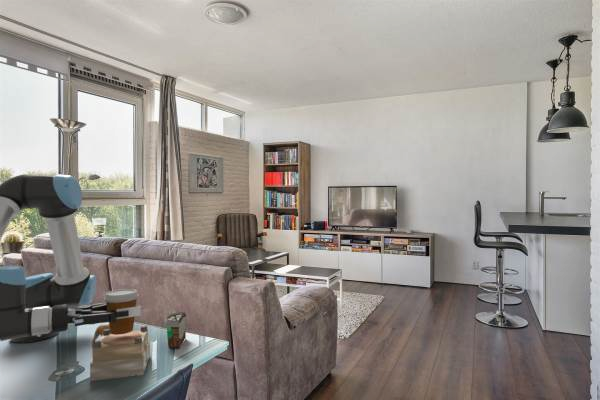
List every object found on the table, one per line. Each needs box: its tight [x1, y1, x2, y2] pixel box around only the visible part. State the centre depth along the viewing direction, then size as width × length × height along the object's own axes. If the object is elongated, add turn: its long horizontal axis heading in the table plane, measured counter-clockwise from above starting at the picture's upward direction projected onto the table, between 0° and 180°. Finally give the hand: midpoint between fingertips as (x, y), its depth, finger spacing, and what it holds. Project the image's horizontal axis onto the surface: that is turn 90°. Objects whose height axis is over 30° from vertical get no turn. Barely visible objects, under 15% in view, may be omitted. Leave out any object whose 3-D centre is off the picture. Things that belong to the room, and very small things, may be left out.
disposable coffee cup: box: [103, 288, 140, 335], centre depth 114 cm, size 10×10×12 cm
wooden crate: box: [89, 325, 151, 382], centre depth 114 cm, size 14×14×10 cm
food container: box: [163, 310, 187, 350], centre depth 133 cm, size 12×6×10 cm, turn 5°
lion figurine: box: [91, 323, 110, 347], centre depth 137 cm, size 15×5×9 cm, turn 165°
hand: (138, 307), depth 116 cm, fingers closed on disposable coffee cup, 8 cm apart
